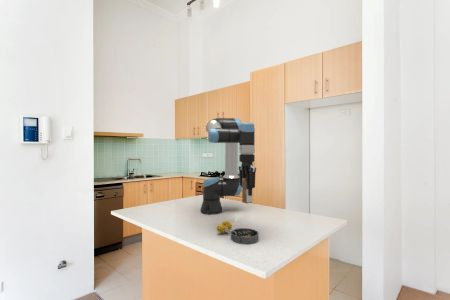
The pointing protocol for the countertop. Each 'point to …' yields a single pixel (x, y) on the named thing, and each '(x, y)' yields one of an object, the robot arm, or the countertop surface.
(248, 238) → the tin
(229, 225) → the pressure relief valve
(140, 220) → the countertop surface
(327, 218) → the countertop surface
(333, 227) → the countertop surface
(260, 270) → the countertop surface
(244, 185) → the wooden beam block
